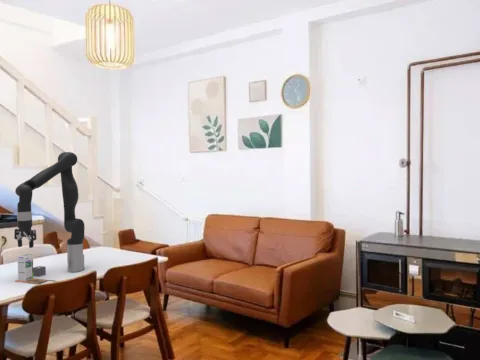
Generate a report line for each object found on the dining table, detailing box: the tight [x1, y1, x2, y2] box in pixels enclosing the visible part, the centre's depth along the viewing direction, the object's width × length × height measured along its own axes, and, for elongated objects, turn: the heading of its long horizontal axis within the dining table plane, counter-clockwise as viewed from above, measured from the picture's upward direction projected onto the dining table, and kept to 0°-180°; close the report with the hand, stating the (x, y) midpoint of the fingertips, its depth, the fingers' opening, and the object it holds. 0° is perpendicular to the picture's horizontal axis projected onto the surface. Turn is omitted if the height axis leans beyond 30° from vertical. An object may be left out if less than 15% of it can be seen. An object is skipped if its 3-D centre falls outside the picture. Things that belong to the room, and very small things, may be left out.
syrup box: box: [16, 253, 35, 281], centre depth 228 cm, size 6×6×14 cm
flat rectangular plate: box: [14, 277, 55, 285], centre depth 225 cm, size 8×25×1 cm, turn 70°
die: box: [33, 265, 47, 278], centre depth 239 cm, size 5×5×5 cm
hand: (25, 247), depth 228 cm, fingers open, 8 cm apart
